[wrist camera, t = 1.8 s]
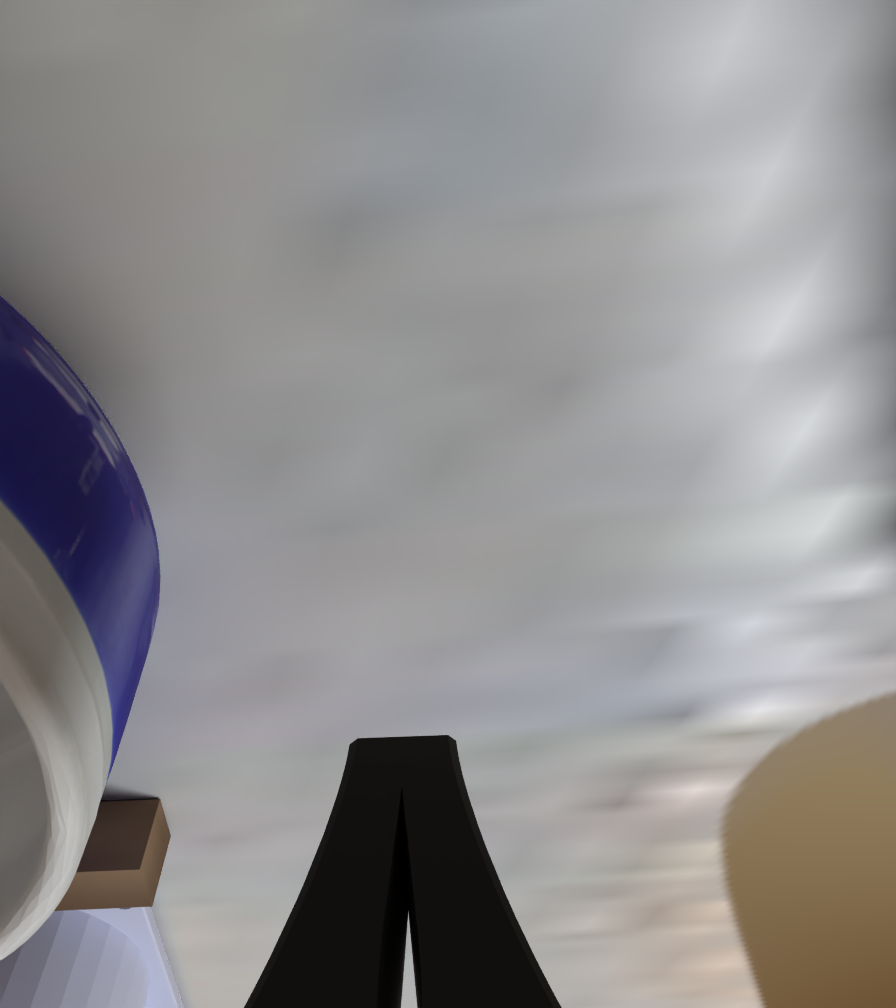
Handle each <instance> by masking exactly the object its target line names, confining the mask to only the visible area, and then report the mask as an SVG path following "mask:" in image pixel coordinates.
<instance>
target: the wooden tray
mask: <svg viewBox="0 0 896 1008" xmlns="http://www.w3.org/2000/svg"><path fill="white" fill-rule="evenodd" d="M170 837H171V836H170V832H169V829H168V825H167V822H166V818H165V815H164V811H163V808H162V804H161V801H160V799H153V800H128V801H104V802H100V804H99V807H98V811H97V816H96V819H95V822H94V825H93V827H92V830H91V833H90V835H89V838H88V841H87V844H86V846H85V849H84V852H83V855H82V857H81V860H80V863H79V866H78V868H77V871H76V874H75V876H74V878H73V880H72V882H71V884H70V886H69V888H68V890H67V892H66V893H65V895H64V897H63V898H62V900H61V901H60V903H59V904H58V906H57V907H56V909H55V910H54V911H65V910H87V909H110V908H132V907H152V905H153V901H154V897H155V894H156V890H157V886H158V882H159V878H160V875H161V871H162V867H163V863H164V859H165V856H166V852H167V848H168V844H169V840H170Z"/></svg>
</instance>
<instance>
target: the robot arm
mask: <svg viewBox="0 0 896 1008" xmlns="http://www.w3.org/2000/svg"><path fill="white" fill-rule="evenodd" d="M408 911H409V922H410V933H411V943H412V954H413V965H414V975H415V986H416V996H417V1007H418V1008H561V1006H560V1004H559V1002H558V1001H557V999H556V997H555V995H554V993H553V991H552V989H551V988H550V986H549V984H548V982H547V980H546V978H545V976H544V974H543V972H542V970H541V968H540V966H539V964H538V962H537V960H536V958H535V956H534V954H533V952H532V950H531V948H530V946H529V944H528V942H527V940H526V938H525V936H524V934H523V931H522V929H521V927H520V925H519V923H518V921H517V919H516V917H515V915H514V912H513V910H512V908H511V906H510V903H509V901H508V899H507V897H506V894H505V892H504V890H503V887H502V885H501V883H500V880H499V878H498V875H497V873H496V870H495V868H494V865H493V863H492V860H491V858H490V856H489V853H488V851H487V848H486V846H485V843H484V840H483V838H482V835H481V832H480V830H479V827H478V824H477V821H476V818H475V815H474V812H473V809H472V806H471V803H470V800H469V796H468V793H467V789H466V786H465V782H464V779H463V775H462V771H461V766H460V762H459V757H458V751H457V744H456V741H455V740H454V739H453V738H451V737H450V736H449V735H438V736H411V737H383V738H358V739H356V740H355V741H354V742H352V743H351V744H350V746H349V751H348V756H347V761H346V765H345V769H344V773H343V777H342V780H341V784H340V787H339V791H338V794H337V797H336V800H335V803H334V806H333V809H332V812H331V815H330V818H329V821H328V824H327V826H326V829H325V832H324V835H323V837H322V840H321V842H320V845H319V847H318V850H317V852H316V855H315V857H314V860H313V862H312V865H311V867H310V870H309V872H308V875H307V877H306V880H305V882H304V885H303V887H302V889H301V892H300V894H299V896H298V899H297V901H296V903H295V905H294V907H293V909H292V911H291V914H290V916H289V918H288V920H287V922H286V924H285V926H284V929H283V931H282V933H281V935H280V937H279V939H278V941H277V944H276V946H275V948H274V950H273V952H272V954H271V956H270V958H269V960H268V962H267V964H266V966H265V968H264V970H263V972H262V974H261V976H260V978H259V980H258V982H257V984H256V986H255V988H254V990H253V992H252V993H251V995H250V997H249V999H248V1001H247V1003H246V1005H245V1007H244V1008H401V998H402V985H403V972H404V960H405V947H406V934H407V921H408ZM0 1008H184V1007H183V1004H182V1001H181V998H180V995H179V992H178V989H177V986H176V983H175V979H174V976H173V973H172V970H171V967H170V964H169V961H168V958H167V955H166V952H165V949H164V946H163V943H162V940H161V937H160V934H159V931H158V928H157V925H156V922H155V919H154V916H153V913H152V910H151V907H132V908H110V909H87V910H65V911H53V913H52V914H51V916H50V917H49V918H48V919H47V920H46V921H45V922H44V923H43V925H42V926H41V927H40V928H39V929H38V930H37V931H36V932H35V933H34V934H33V935H32V936H31V937H30V938H29V939H28V940H27V941H26V942H25V943H23V944H22V945H21V946H20V947H19V948H17V949H16V950H15V951H14V952H12V953H11V954H9V955H8V956H7V957H5V958H4V959H2V960H1V961H0Z"/></svg>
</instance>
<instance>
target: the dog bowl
mask: <svg viewBox="0 0 896 1008" xmlns="http://www.w3.org/2000/svg"><path fill="white" fill-rule="evenodd" d="M159 593H160V563H159V550H158V544H157V537H156V532H155V528H154V524H153V520H152V516H151V512H150V508H149V505H148V502H147V499H146V496H145V493H144V491H143V488H142V486H141V483H140V481H139V478H138V476H137V474H136V471H135V469H134V467H133V465H132V463H131V461H130V459H129V457H128V455H127V453H126V451H125V449H124V447H123V445H122V443H121V441H120V439H119V437H118V435H117V433H116V432H115V430H114V429H113V427H112V426H111V424H110V422H109V421H108V419H107V418H106V416H105V415H104V413H103V412H102V410H101V408H100V407H99V405H98V404H97V402H96V401H95V399H94V398H93V397H92V395H91V394H90V393H89V391H88V390H87V389H86V387H85V386H84V385H83V383H82V382H81V381H80V379H79V378H78V377H77V375H76V374H75V373H74V371H73V370H72V369H71V368H70V367H69V365H68V364H67V363H66V362H65V361H64V360H63V358H62V357H61V356H60V355H59V354H58V353H57V351H56V350H55V349H54V348H53V347H52V346H51V345H50V344H49V343H48V342H47V341H46V339H45V338H44V337H43V336H42V335H41V334H40V333H39V332H38V331H37V330H36V329H35V328H34V327H33V326H32V325H31V324H30V323H29V322H28V321H27V320H26V319H25V318H24V317H23V316H22V315H21V314H19V313H18V312H17V311H16V310H15V309H14V308H13V307H12V306H11V305H10V304H9V303H7V302H6V301H5V300H4V299H3V298H2V297H1V296H0V961H1V960H2V959H4V958H5V957H7V956H8V955H9V954H11V953H12V952H14V951H15V950H16V949H17V948H19V947H20V946H21V945H22V944H23V943H25V942H26V941H27V940H28V939H29V938H30V937H31V936H32V935H33V934H34V933H35V932H36V931H37V930H38V929H39V928H40V927H41V926H42V925H43V923H44V922H45V921H46V920H47V919H48V918H49V917H50V916H51V914H52V913H53V911H54V910H55V909H56V907H57V906H58V904H59V903H60V901H61V900H62V898H63V897H64V895H65V893H66V892H67V890H68V888H69V886H70V884H71V882H72V880H73V878H74V876H75V874H76V871H77V868H78V866H79V863H80V860H81V857H82V855H83V852H84V849H85V846H86V844H87V841H88V838H89V835H90V833H91V830H92V827H93V825H94V822H95V819H96V816H97V811H98V807H99V804H100V801H101V798H102V795H103V792H104V789H105V786H106V783H107V780H108V777H109V774H110V772H111V769H112V766H113V763H114V760H115V757H116V754H117V751H118V748H119V744H120V741H121V738H122V735H123V732H124V729H125V726H126V723H127V719H128V716H129V713H130V710H131V706H132V703H133V700H134V696H135V693H136V690H137V687H138V683H139V680H140V677H141V673H142V670H143V667H144V664H145V660H146V657H147V654H148V651H149V647H150V643H151V639H152V635H153V631H154V627H155V622H156V617H157V612H158V607H159Z"/></svg>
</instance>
